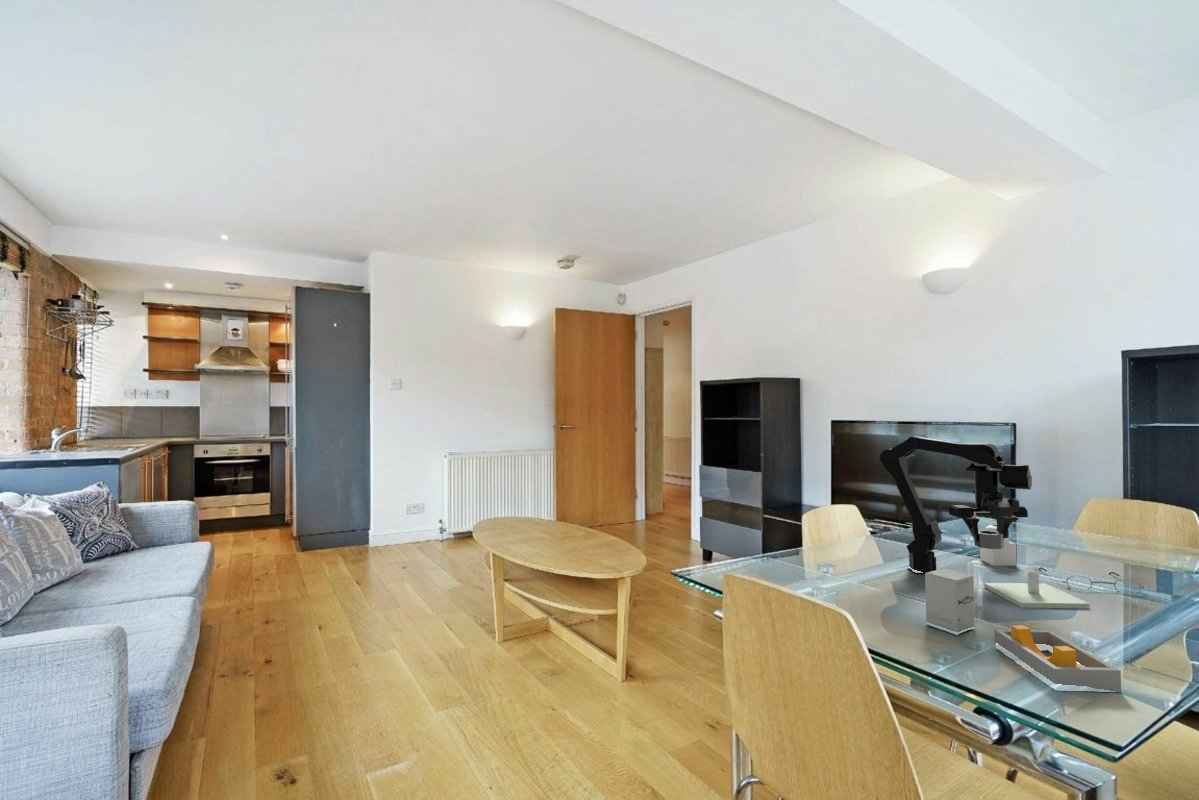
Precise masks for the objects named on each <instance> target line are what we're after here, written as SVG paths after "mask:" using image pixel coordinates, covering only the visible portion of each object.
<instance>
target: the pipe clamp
mask: <svg viewBox="0 0 1199 800" xmlns="http://www.w3.org/2000/svg"><path fill="white" fill-rule="evenodd" d="M1010 630H1011V637H1012V638H1013V639H1015V640H1016V641H1018V642H1019V643H1021V644H1023V645H1024V646H1026V647H1027V648H1029V649H1030V650H1032V651H1033V652H1035V653H1036V654H1038V655H1039V656H1041V657H1043V658H1044V659H1046V660H1047V661H1049V662H1050V663H1052V664H1053V665H1055V666H1056V667H1083V666H1081V665H1079V664H1077V663H1076V650H1074V649H1072V648H1070V647H1068V646H1053V653H1051V655H1050V656H1046V655H1045V654H1044V653H1043V652H1042V651H1040V650H1039V649H1038V648H1037V646H1036V645H1035V643H1034V641H1033V638H1032V635H1031V630H1032V629H1031V628H1030V627H1027V626H1025V625H1023V624H1021V625H1018V624H1017V625H1010Z"/></svg>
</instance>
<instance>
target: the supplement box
mask: <svg viewBox="0 0 1199 800" xmlns="http://www.w3.org/2000/svg"><path fill="white" fill-rule="evenodd" d="M924 577H925V579H924V581H925V582H924V583H925V587H924V588H925V619H926V620H925V622H926V621H927V622H929V623H931V624H934V625H937V626H940V627H943V628H946V629H948V630H951V631H955V632H960V631H962V630H965V629H968V628H972V627H975V628H976V626H975V625H976V624H975V619H976V617H975V616H976V615H975V587H974V586H975V585H974V583H975V582H974V575H973V574H968V573H964V572H960V571H957V570H951V569H948V568H947V569H946V568H939V569H936V570H935V571H931V572H927V573H925V574H924Z"/></svg>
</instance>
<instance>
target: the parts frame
mask: <svg viewBox="0 0 1199 800" xmlns="http://www.w3.org/2000/svg"><path fill="white" fill-rule="evenodd" d="M1031 635H1032V638H1033V641H1034V643H1035V644H1046V645H1050V646H1052V647H1053V646H1068V647H1070V648H1072V649H1074V650H1076V661H1077V662H1079V663H1080V664H1081V665H1083V666H1085V667H1056V666H1055V665H1053V664H1052V663H1050V662H1049V661H1047V660H1046V659H1044V658H1043V657H1041V656H1039V655H1038V654H1036V653H1035V652H1033V651H1032V650H1030V649H1029V648H1027V647H1026V646H1024V645H1023V644H1021V643H1019V642H1018V641H1016V640H1015V639H1013V638H1012V637H1011V629H996V628H994V643H995V642H996V643H998V644H999V645H1000V646H1002V647H1003V648H1005V649H1006V650H1008V651H1009V652H1011V653H1013V654H1014V655H1015V656H1017V657H1018V658H1019V659H1020V660H1022V661H1023V662H1025V663H1026V664H1027V665H1029V666H1030V667H1031V668H1033V669H1034V670H1035V671H1037V672H1039V673H1040V674H1042V675H1043V676H1045V677H1046V678H1047V679H1049V680H1050V681H1052V682H1053V683H1055V684H1062V685H1076V686H1087V687H1091V688H1095V689H1104V690H1110V691H1116V692H1121V693H1122V677H1121V676H1122V674H1121V673H1122V672H1121V670H1120V669H1119V668H1117V667H1116V666H1113V665H1112V664H1110V663H1108V662H1106V661H1105V660H1103V659H1101V658H1100V657H1099V656H1096V655H1094V654H1092V653H1090V652H1089V651H1087V650H1085V649H1083V648H1082V647H1080V646H1078V645H1077V644H1075V643H1074V642H1071V641H1069V640H1068V639H1067V638H1064V637H1063V636H1060V635H1059V634H1056V632H1053V631H1052V630H1049V629H1047V630H1046V629H1031Z"/></svg>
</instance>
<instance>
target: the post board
mask: <svg viewBox="0 0 1199 800" xmlns="http://www.w3.org/2000/svg"><path fill="white" fill-rule="evenodd" d="M983 586H984V588H985V589H986V590H989V591H990V592H992V593H994V594H996V595H998V596H1000V597H1001V598H1003V599H1004V600H1007V601H1008V602H1011V603H1013V604H1014V605H1016V606H1018V607H1019V608H1021V609H1023V608H1027V609H1028V608H1030V609H1034V608H1035V609H1090V603H1089V602H1088V601H1087V602H1086V601H1084V600H1082V599H1080V598H1078V597H1076V596H1073V595H1071V594H1069V593H1067V592H1065V591H1062V590H1060V589H1058V588H1057V587H1053V586H1051V585H1049V584H1047V583H1040V575H1039V573H1038V572H1037V571H1035V570H1030V571H1028V572H1027V583H1026V582H1025V583H1024V582H1023V583H1020V582H1019V583H1017V582H1011V583H1010V582H984V584H983Z"/></svg>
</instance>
